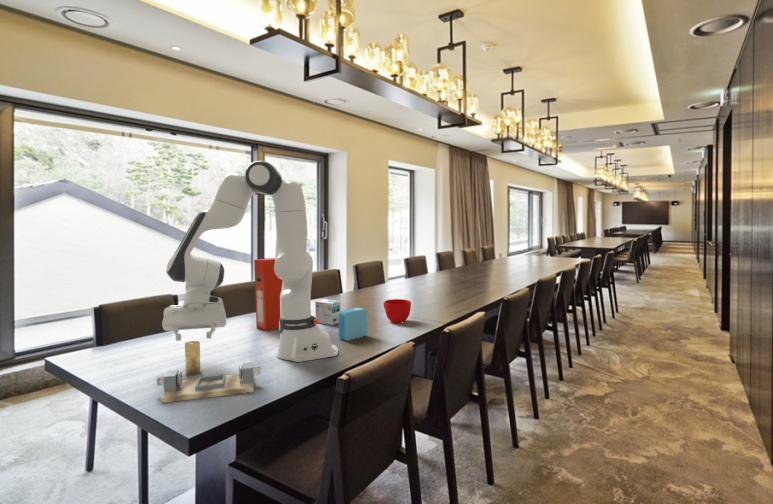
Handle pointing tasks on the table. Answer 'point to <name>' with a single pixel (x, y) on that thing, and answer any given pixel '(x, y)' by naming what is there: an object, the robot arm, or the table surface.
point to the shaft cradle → (207, 384)
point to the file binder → (267, 294)
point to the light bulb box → (327, 311)
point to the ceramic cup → (397, 310)
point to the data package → (352, 323)
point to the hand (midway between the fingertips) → (193, 338)
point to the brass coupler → (192, 357)
